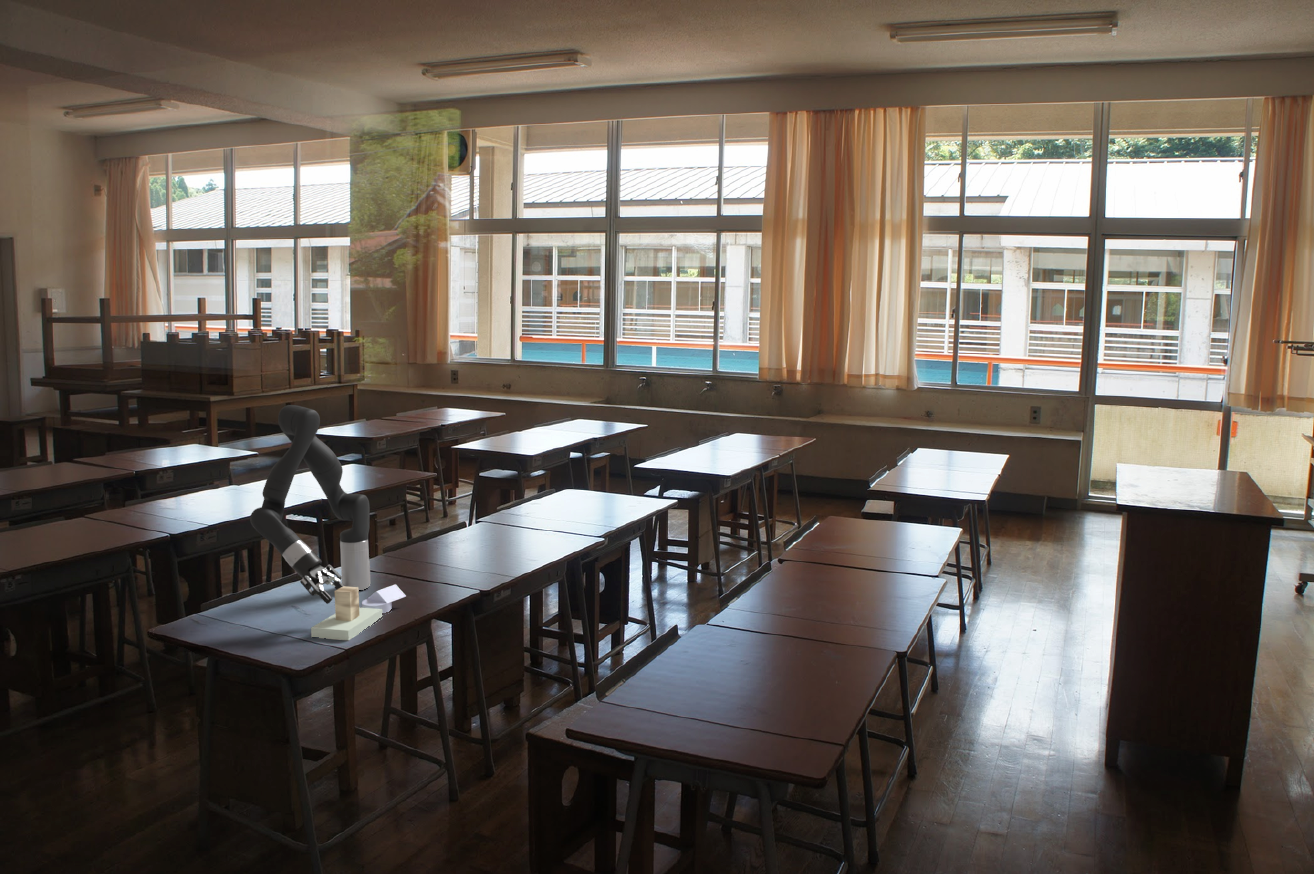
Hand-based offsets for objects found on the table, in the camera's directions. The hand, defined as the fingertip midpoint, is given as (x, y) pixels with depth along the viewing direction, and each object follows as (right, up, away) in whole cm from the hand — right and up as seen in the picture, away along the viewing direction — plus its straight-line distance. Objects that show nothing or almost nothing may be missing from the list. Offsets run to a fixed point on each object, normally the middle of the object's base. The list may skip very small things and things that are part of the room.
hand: (337, 597), depth 274 cm
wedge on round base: (+8, -7, +18) cm, 21 cm away
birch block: (+3, -6, 0) cm, 7 cm away
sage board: (+3, -9, +1) cm, 10 cm away
